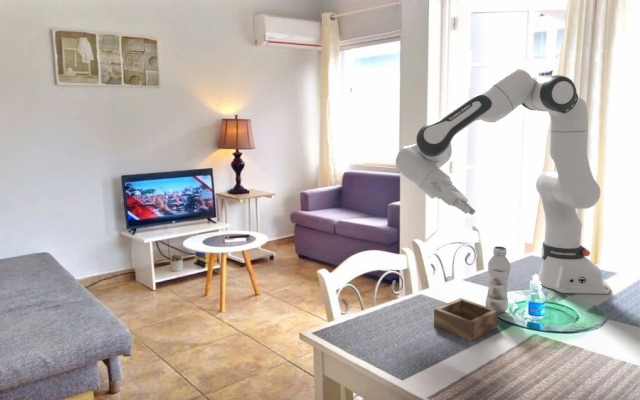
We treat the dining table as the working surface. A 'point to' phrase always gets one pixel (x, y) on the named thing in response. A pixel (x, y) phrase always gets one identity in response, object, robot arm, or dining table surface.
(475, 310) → the open wooden box
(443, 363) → the dining table surface
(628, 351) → the dining table surface
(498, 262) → the plastic bottle
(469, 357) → the dining table surface
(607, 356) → the dining table surface
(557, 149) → the robot arm
